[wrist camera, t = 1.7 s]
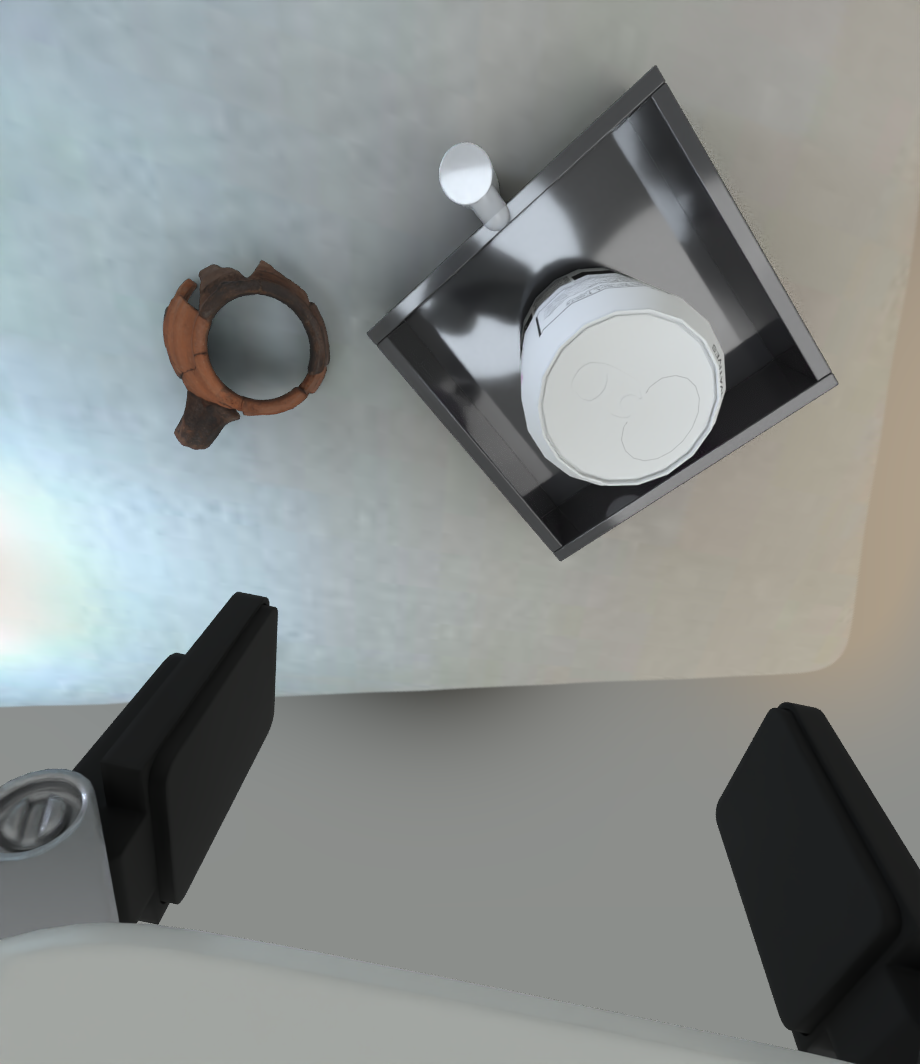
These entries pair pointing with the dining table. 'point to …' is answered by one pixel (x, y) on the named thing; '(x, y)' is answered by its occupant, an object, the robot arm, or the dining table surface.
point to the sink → (597, 242)
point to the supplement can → (618, 377)
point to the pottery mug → (190, 359)
